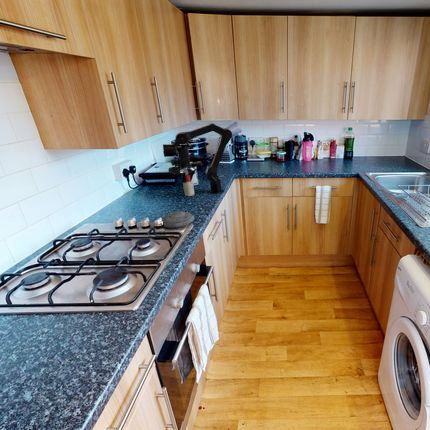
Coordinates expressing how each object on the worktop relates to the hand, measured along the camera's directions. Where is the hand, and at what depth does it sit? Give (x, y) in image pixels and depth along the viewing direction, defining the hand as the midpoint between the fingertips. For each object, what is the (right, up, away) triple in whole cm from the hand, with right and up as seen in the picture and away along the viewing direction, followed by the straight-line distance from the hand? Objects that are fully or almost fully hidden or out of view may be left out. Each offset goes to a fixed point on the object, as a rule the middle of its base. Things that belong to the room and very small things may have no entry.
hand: (187, 181), depth 169 cm
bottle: (0, -7, +3) cm, 8 cm away
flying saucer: (+8, -24, -34) cm, 42 cm away
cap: (0, +1, 0) cm, 1 cm away
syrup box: (-4, 0, +21) cm, 21 cm away
